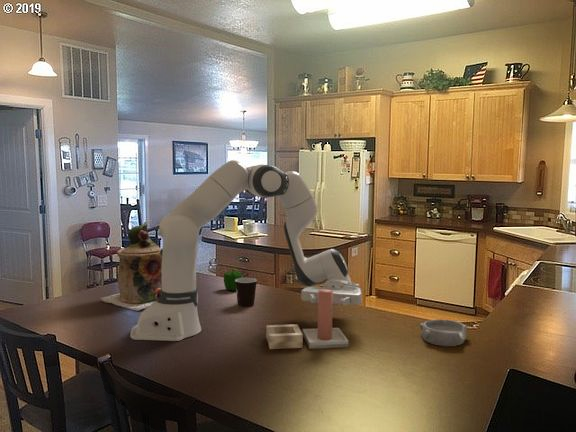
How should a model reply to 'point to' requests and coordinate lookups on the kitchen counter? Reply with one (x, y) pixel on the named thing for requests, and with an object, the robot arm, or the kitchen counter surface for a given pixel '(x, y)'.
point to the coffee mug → (245, 291)
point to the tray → (335, 342)
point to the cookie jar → (138, 271)
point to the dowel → (325, 314)
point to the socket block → (284, 336)
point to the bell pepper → (231, 279)
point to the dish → (443, 332)
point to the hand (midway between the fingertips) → (327, 301)
